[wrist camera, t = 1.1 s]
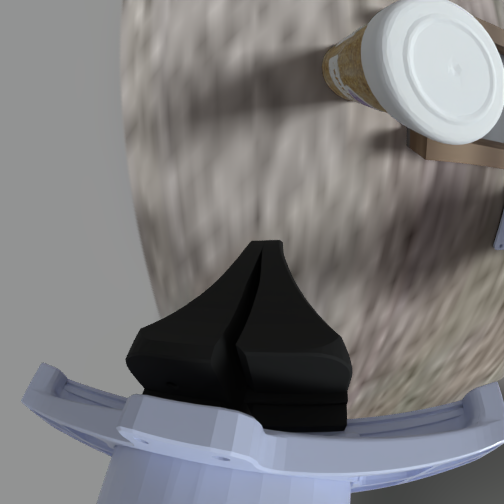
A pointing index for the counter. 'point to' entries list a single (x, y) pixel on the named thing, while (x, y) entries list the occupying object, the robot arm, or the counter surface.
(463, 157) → the cradle
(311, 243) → the counter surface
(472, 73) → the sprinkles bottle
